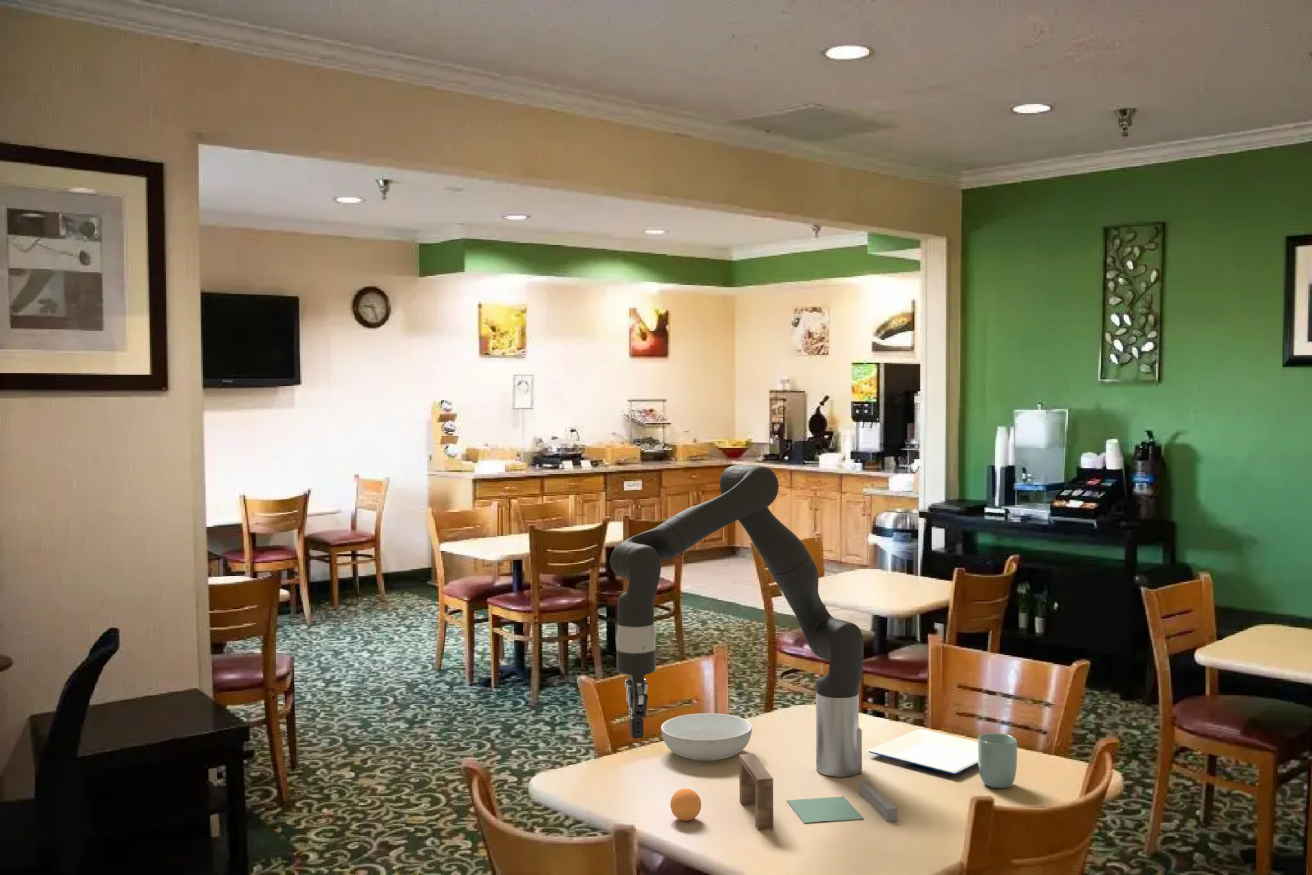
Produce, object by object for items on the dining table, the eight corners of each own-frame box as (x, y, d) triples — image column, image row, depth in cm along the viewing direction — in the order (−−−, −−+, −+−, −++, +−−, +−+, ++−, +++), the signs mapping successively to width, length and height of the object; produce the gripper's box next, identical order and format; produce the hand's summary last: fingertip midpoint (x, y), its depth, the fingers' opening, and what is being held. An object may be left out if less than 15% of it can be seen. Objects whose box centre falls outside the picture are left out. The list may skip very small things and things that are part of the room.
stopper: (868, 792, 230) (868, 780, 230) (897, 820, 214) (897, 808, 214) (859, 792, 230) (859, 780, 230) (887, 821, 214) (887, 808, 214)
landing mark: (843, 797, 227) (843, 796, 227) (863, 819, 216) (863, 818, 216) (786, 801, 225) (786, 800, 225) (804, 823, 214) (804, 822, 214)
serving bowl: (685, 736, 270) (685, 708, 269) (765, 748, 260) (765, 719, 260) (645, 761, 251) (644, 731, 251) (729, 775, 241) (729, 744, 241)
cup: (972, 779, 237) (972, 733, 237) (1007, 778, 238) (1007, 732, 238) (986, 792, 230) (986, 744, 229) (1022, 791, 230) (1022, 743, 230)
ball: (698, 812, 219) (697, 782, 219) (704, 824, 214) (703, 793, 213) (668, 815, 219) (667, 784, 218) (673, 826, 213) (673, 795, 212)
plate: (1005, 756, 253) (1005, 747, 253) (955, 781, 237) (955, 772, 237) (919, 736, 269) (919, 727, 268) (866, 758, 253) (866, 749, 253)
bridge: (753, 800, 226) (753, 753, 226) (773, 828, 211) (773, 778, 211) (739, 801, 225) (739, 754, 225) (758, 829, 211) (757, 779, 210)
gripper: (661, 654, 207) (661, 745, 208) (649, 638, 221) (650, 724, 221) (621, 655, 206) (622, 748, 207) (612, 640, 219) (613, 727, 220)
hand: (636, 735), depth 214 cm, fingers closed
